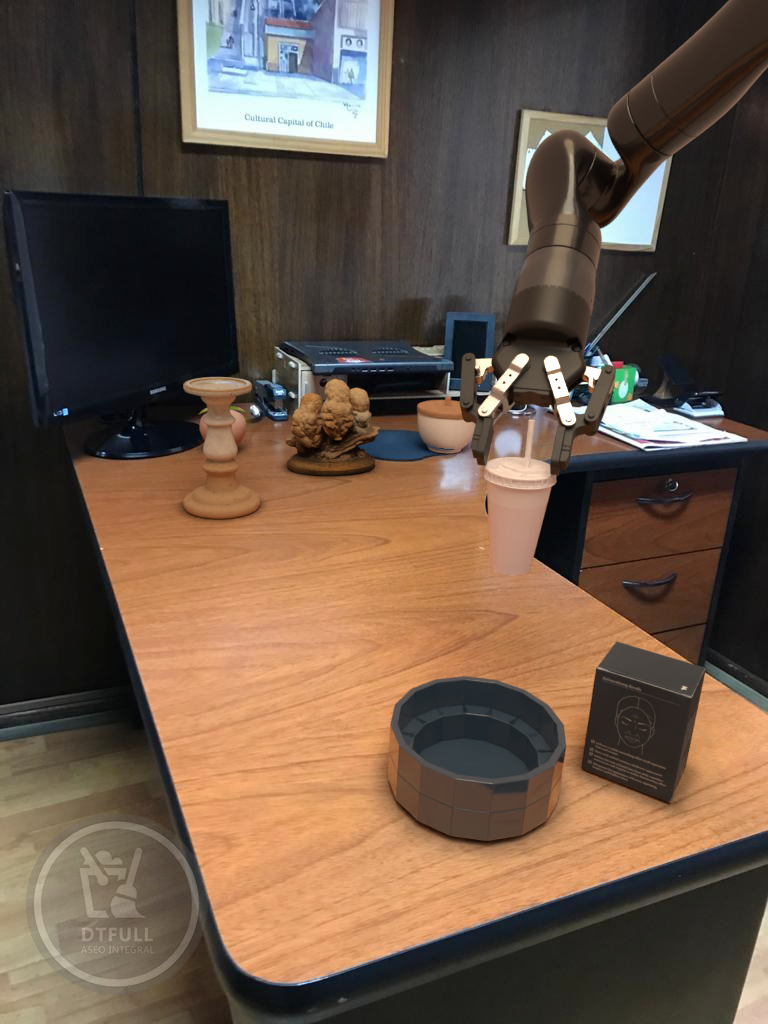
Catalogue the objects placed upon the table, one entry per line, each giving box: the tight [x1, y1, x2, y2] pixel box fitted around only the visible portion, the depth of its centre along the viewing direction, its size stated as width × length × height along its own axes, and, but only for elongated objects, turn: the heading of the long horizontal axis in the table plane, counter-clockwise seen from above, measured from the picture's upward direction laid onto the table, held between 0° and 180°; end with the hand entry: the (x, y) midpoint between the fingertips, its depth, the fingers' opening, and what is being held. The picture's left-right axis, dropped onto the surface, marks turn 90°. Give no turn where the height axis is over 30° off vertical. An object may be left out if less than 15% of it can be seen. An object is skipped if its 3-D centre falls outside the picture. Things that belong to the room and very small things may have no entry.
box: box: [581, 641, 707, 803], centre depth 67 cm, size 8×6×11 cm
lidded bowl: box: [416, 396, 476, 454], centre depth 162 cm, size 13×13×11 cm
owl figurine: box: [285, 378, 381, 477], centre depth 145 cm, size 18×12×17 cm, turn 106°
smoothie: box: [482, 418, 558, 577], centre depth 69 cm, size 6×6×14 cm
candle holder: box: [182, 376, 261, 520], centre depth 122 cm, size 12×12×20 cm
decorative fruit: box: [198, 405, 248, 445], centre depth 153 cm, size 9×8×10 cm
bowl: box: [386, 675, 567, 842], centre depth 65 cm, size 14×14×6 cm
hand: (517, 465), depth 66 cm, fingers closed on smoothie, 5 cm apart
